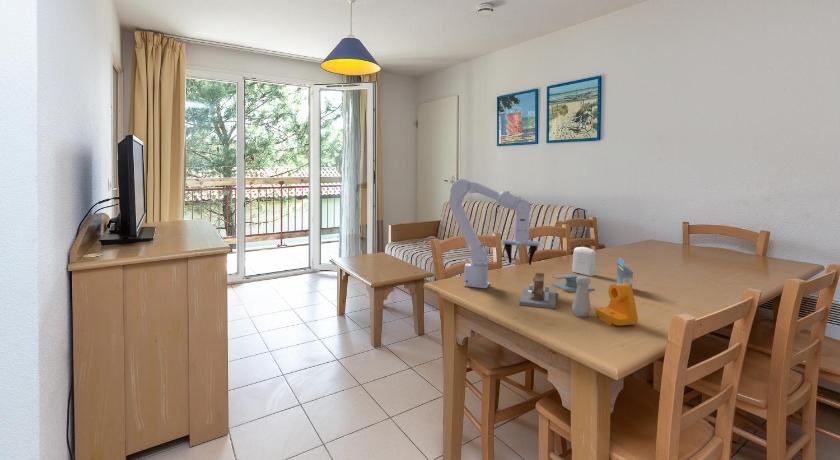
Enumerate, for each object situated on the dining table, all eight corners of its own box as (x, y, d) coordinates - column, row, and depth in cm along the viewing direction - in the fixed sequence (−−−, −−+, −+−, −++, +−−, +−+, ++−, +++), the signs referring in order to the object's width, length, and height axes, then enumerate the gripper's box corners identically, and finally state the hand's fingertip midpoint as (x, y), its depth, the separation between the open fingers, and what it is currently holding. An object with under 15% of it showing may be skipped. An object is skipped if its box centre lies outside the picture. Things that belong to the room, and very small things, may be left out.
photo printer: (596, 275, 190) (597, 248, 188) (590, 276, 188) (592, 249, 186) (576, 270, 198) (577, 245, 197) (570, 272, 196) (572, 246, 194)
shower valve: (545, 273, 173) (574, 270, 178) (544, 285, 174) (573, 282, 179) (565, 280, 161) (596, 277, 167) (564, 294, 162) (595, 290, 167)
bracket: (593, 316, 137) (596, 280, 135) (612, 314, 139) (615, 279, 137) (616, 328, 127) (620, 289, 125) (637, 326, 128) (640, 288, 127)
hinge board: (519, 304, 147) (519, 294, 147) (523, 289, 166) (524, 280, 166) (555, 308, 144) (555, 298, 143) (555, 292, 163) (555, 283, 162)
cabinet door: (531, 299, 150) (532, 280, 149) (532, 290, 161) (533, 272, 160) (542, 300, 149) (543, 281, 148) (543, 291, 160) (544, 273, 159)
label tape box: (632, 293, 163) (635, 262, 162) (621, 292, 164) (623, 261, 162) (626, 286, 172) (628, 257, 170) (615, 286, 173) (617, 257, 171)
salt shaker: (568, 312, 140) (570, 274, 138) (584, 312, 141) (587, 274, 139) (576, 318, 134) (578, 279, 133) (593, 318, 135) (596, 278, 133)
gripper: (501, 230, 164) (500, 264, 166) (540, 232, 159) (538, 267, 161) (503, 227, 170) (502, 260, 172) (540, 229, 166) (539, 263, 168)
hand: (520, 263), depth 167 cm, fingers open, 7 cm apart
